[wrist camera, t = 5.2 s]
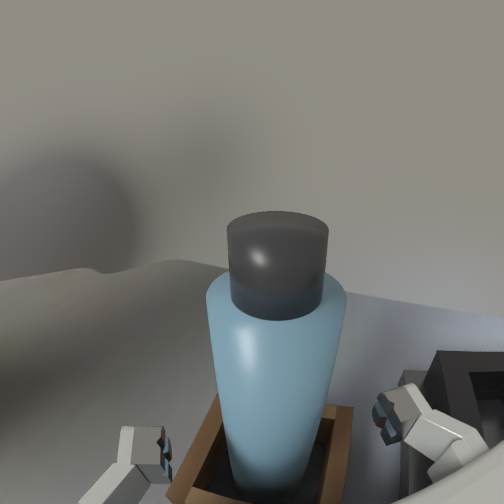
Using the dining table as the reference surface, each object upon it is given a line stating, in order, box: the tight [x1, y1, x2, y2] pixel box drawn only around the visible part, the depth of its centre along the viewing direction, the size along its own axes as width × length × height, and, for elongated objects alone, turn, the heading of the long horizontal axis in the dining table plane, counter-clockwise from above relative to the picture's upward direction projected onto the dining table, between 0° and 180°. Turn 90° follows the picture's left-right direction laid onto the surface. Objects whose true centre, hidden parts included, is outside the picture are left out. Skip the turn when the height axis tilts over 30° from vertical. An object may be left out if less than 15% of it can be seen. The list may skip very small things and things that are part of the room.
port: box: [398, 350, 504, 500], centre depth 12 cm, size 13×12×4 cm
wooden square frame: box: [166, 393, 353, 504], centre depth 14 cm, size 8×8×3 cm
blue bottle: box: [206, 211, 346, 504], centre depth 11 cm, size 4×4×15 cm
